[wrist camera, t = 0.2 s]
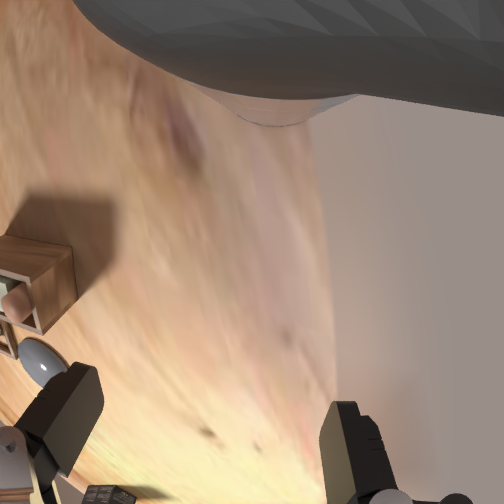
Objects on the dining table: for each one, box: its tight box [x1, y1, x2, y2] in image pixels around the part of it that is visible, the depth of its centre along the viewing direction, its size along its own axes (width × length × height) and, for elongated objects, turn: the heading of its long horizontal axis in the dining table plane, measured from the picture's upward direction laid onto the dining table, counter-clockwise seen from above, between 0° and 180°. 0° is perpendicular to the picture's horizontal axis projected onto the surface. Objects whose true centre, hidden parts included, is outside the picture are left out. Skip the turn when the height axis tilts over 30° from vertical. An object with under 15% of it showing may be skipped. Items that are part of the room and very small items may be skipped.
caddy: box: [0, 235, 78, 336], centre depth 24 cm, size 6×11×9 cm, turn 83°
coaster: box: [18, 339, 68, 388], centre depth 34 cm, size 10×10×1 cm
